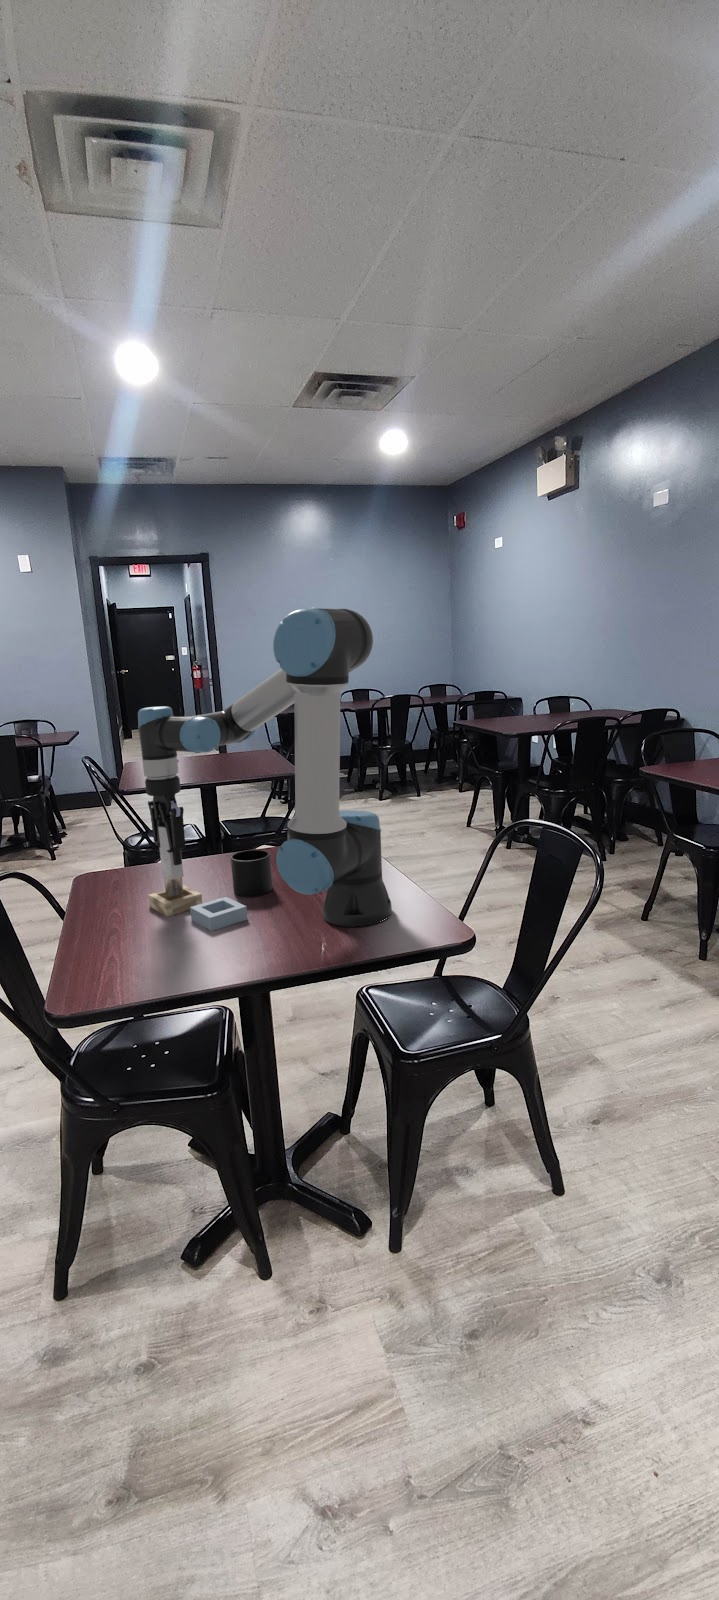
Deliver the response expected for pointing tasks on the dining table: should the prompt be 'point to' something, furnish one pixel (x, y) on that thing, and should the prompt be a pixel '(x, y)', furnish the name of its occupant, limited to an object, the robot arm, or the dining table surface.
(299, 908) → the dining table surface
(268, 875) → the mug
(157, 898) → the block
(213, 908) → the socket block
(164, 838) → the pin
